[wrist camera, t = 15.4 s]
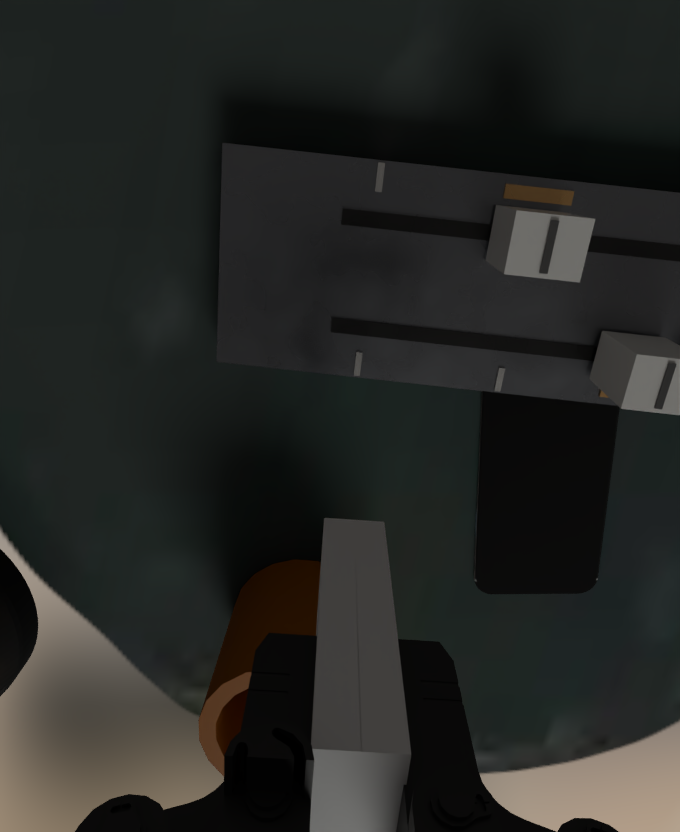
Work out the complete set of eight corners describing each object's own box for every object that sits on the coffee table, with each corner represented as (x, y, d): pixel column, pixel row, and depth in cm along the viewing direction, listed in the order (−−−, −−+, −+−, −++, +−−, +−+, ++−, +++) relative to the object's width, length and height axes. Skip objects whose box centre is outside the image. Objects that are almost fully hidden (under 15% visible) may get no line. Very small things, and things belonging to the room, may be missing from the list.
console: (225, 350, 32) (206, 374, 29) (231, 144, 29) (211, 140, 25) (753, 408, 32) (803, 439, 29) (829, 210, 29) (898, 215, 25)
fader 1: (485, 260, 28) (504, 274, 24) (495, 204, 27) (517, 210, 23) (551, 267, 28) (580, 282, 24) (564, 212, 27) (596, 219, 23)
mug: (254, 710, 42) (222, 844, 33) (224, 562, 38) (179, 672, 29) (385, 706, 41) (386, 842, 33) (369, 553, 37) (366, 665, 28)
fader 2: (589, 378, 30) (621, 409, 26) (602, 330, 29) (637, 354, 25) (650, 385, 30) (692, 417, 26) (665, 337, 29) (711, 362, 25)
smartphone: (628, 350, 31) (596, 593, 37) (623, 347, 32) (592, 586, 37) (483, 355, 32) (473, 594, 37) (480, 351, 32) (471, 587, 38)
